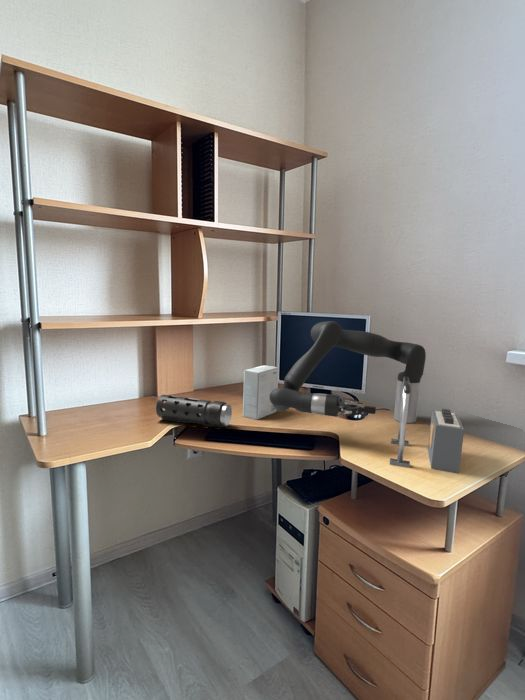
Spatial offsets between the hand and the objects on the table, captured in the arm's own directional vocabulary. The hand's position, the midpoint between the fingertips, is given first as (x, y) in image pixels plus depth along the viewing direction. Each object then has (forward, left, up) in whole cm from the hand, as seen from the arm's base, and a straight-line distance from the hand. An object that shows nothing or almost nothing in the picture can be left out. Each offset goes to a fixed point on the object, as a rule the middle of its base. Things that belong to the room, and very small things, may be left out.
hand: (375, 410), depth 147 cm
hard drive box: (-20, -48, -14) cm, 54 cm away
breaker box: (+1, +23, -14) cm, 26 cm away
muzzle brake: (+4, -67, -14) cm, 68 cm away
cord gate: (+1, +9, -14) cm, 16 cm away
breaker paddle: (+1, +21, -9) cm, 23 cm away
